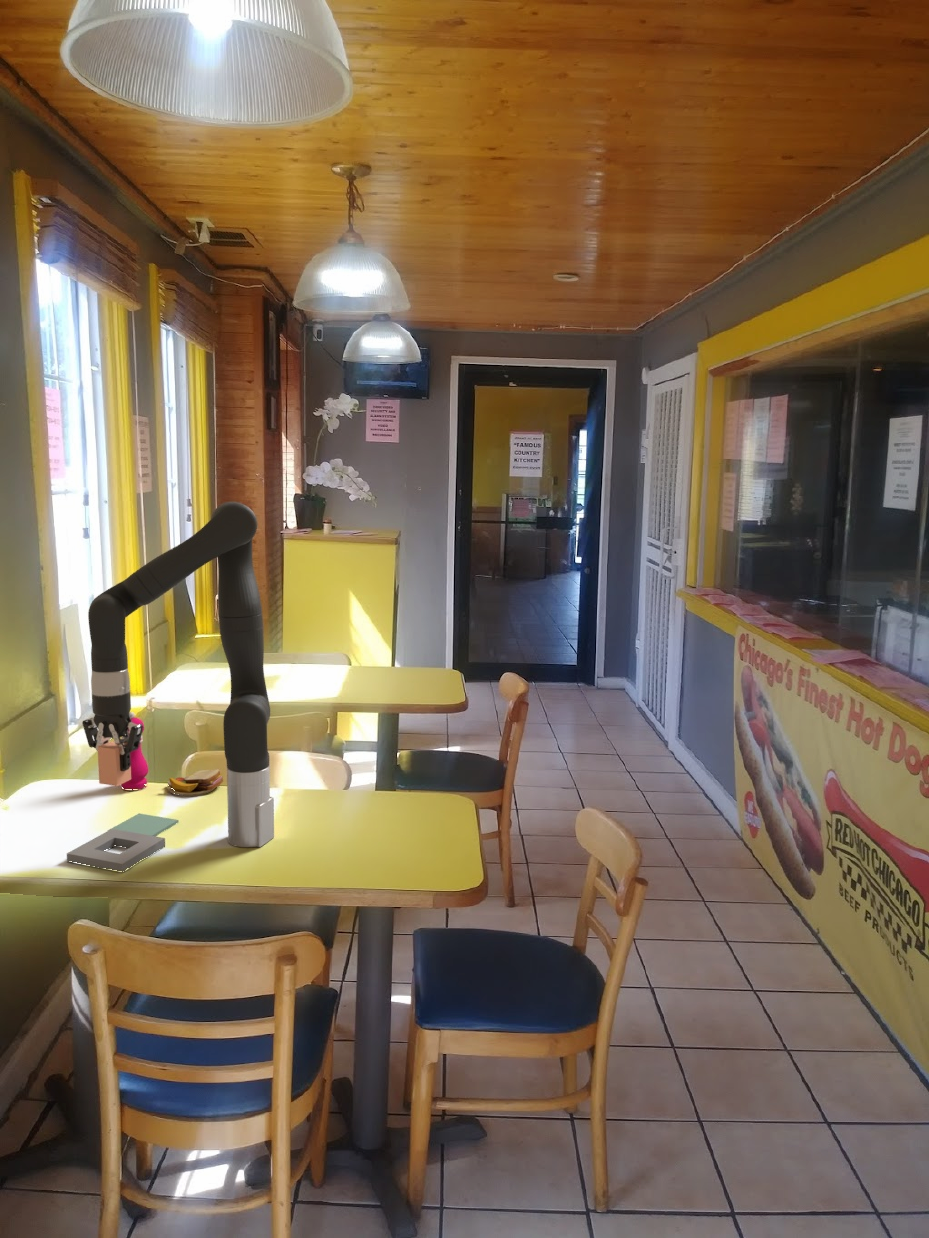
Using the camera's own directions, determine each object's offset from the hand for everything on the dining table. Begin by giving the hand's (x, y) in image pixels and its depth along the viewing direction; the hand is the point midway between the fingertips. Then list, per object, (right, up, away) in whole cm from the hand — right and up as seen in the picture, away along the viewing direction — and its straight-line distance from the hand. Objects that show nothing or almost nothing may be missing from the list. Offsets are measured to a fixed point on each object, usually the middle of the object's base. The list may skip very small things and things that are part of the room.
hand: (114, 768), depth 193 cm
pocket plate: (-1, -19, +3) cm, 19 cm away
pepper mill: (-11, -12, +43) cm, 46 cm away
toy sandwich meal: (+4, -13, +43) cm, 45 cm away
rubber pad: (0, -17, +17) cm, 24 cm away
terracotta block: (0, -3, 0) cm, 3 cm away
